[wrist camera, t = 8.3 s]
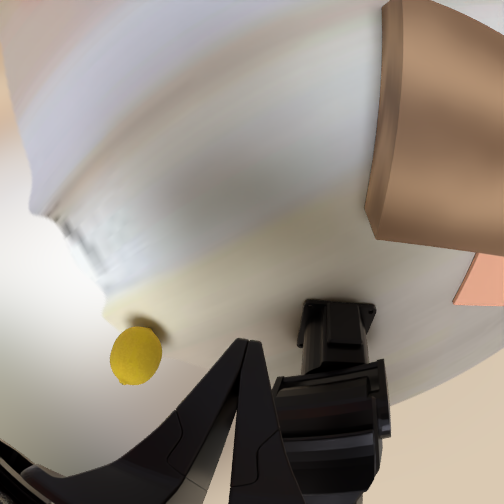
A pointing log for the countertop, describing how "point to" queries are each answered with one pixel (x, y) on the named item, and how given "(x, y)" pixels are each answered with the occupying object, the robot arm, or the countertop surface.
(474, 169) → the board
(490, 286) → the mat
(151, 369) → the lemon
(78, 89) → the countertop surface
